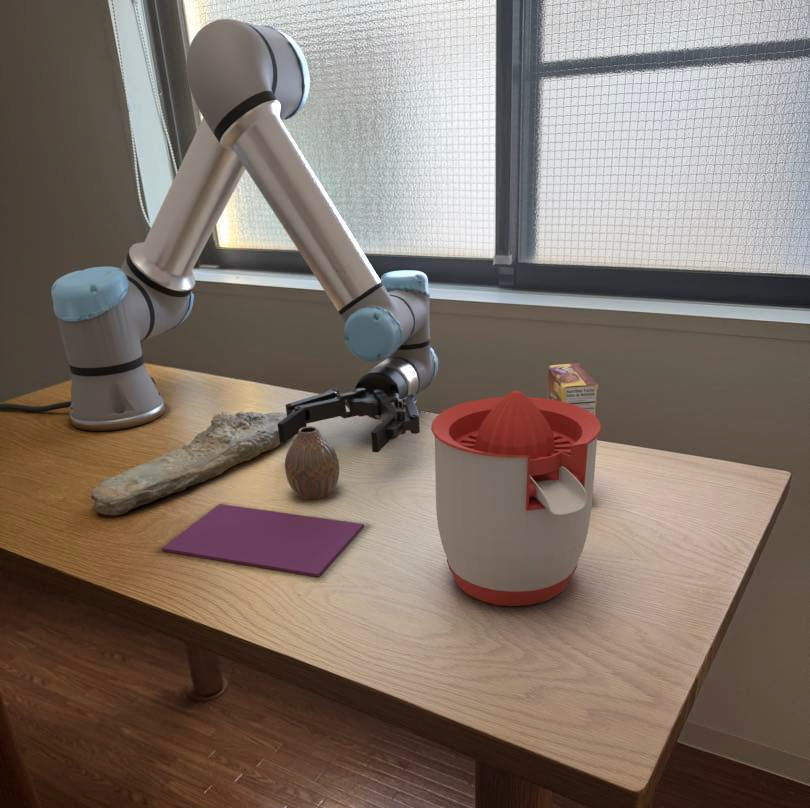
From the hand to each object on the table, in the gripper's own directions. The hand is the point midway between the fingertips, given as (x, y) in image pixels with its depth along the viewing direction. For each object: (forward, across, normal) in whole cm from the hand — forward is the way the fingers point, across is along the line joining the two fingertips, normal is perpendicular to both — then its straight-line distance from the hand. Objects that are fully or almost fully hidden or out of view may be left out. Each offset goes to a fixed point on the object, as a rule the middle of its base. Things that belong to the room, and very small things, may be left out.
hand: (326, 438), depth 100 cm
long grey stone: (+1, +19, -6) cm, 20 cm away
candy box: (-4, -31, -6) cm, 32 cm away
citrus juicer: (+19, -30, -6) cm, 36 cm away
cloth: (+17, 0, -6) cm, 18 cm away
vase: (+4, 0, -6) cm, 8 cm away
